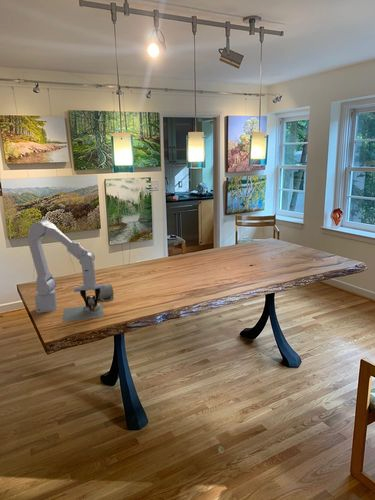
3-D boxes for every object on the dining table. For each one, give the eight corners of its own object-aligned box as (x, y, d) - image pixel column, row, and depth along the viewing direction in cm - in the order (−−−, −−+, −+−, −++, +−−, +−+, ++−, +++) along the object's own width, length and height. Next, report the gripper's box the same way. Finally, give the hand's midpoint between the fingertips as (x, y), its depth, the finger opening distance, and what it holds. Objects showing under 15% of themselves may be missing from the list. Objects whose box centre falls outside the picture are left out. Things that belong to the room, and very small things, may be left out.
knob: (87, 306, 184) (86, 295, 182) (95, 305, 185) (94, 294, 184) (88, 310, 179) (87, 298, 178) (96, 308, 181) (95, 297, 179)
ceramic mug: (94, 298, 199) (93, 284, 197) (109, 294, 203) (108, 281, 201) (100, 304, 190) (99, 290, 188) (116, 301, 194) (115, 287, 192)
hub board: (62, 323, 168) (62, 318, 168) (64, 310, 183) (63, 305, 183) (103, 318, 173) (103, 313, 172) (102, 305, 188) (101, 301, 187)
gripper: (72, 281, 173) (75, 309, 177) (105, 278, 177) (107, 305, 180) (73, 277, 180) (76, 303, 183) (104, 274, 184) (106, 300, 187)
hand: (91, 304), depth 182 cm, fingers closed on knob, 4 cm apart
